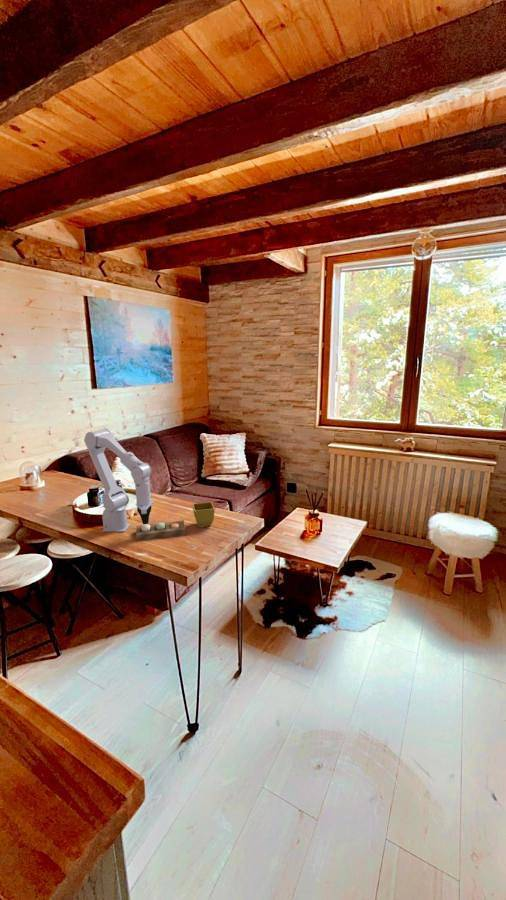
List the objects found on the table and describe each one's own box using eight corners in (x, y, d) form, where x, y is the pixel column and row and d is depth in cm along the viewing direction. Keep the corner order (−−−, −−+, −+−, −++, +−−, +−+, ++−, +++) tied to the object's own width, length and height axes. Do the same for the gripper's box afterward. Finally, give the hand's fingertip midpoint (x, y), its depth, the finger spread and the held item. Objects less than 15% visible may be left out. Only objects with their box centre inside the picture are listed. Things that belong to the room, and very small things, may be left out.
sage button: (156, 532, 159) (156, 526, 158) (156, 528, 162) (155, 523, 161) (165, 531, 160) (164, 525, 159) (164, 527, 163) (164, 522, 162)
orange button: (171, 532, 160) (170, 527, 160) (170, 529, 164) (170, 523, 163) (179, 531, 161) (179, 526, 161) (179, 528, 165) (178, 523, 164)
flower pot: (195, 530, 164) (194, 510, 162) (193, 522, 172) (192, 503, 170) (215, 527, 166) (214, 508, 164) (212, 519, 174) (211, 501, 172)
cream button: (141, 533, 157) (141, 528, 157) (141, 530, 161) (141, 524, 160) (150, 532, 158) (150, 527, 157) (150, 529, 161) (150, 523, 161)
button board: (136, 540, 154) (135, 535, 154) (136, 531, 163) (136, 525, 162) (185, 534, 159) (185, 529, 159) (183, 525, 168) (183, 520, 167)
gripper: (153, 497, 149) (155, 529, 153) (153, 486, 163) (155, 515, 166) (134, 499, 148) (137, 531, 151) (136, 488, 161) (138, 517, 164)
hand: (145, 523), depth 158 cm, fingers closed
